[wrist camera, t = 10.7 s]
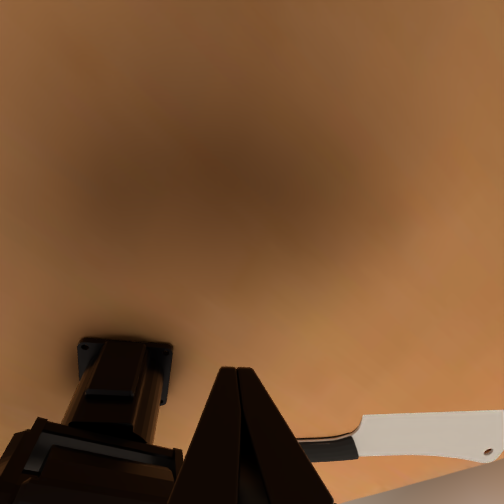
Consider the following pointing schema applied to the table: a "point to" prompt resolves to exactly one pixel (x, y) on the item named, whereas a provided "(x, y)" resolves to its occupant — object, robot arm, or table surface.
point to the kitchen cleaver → (416, 437)
